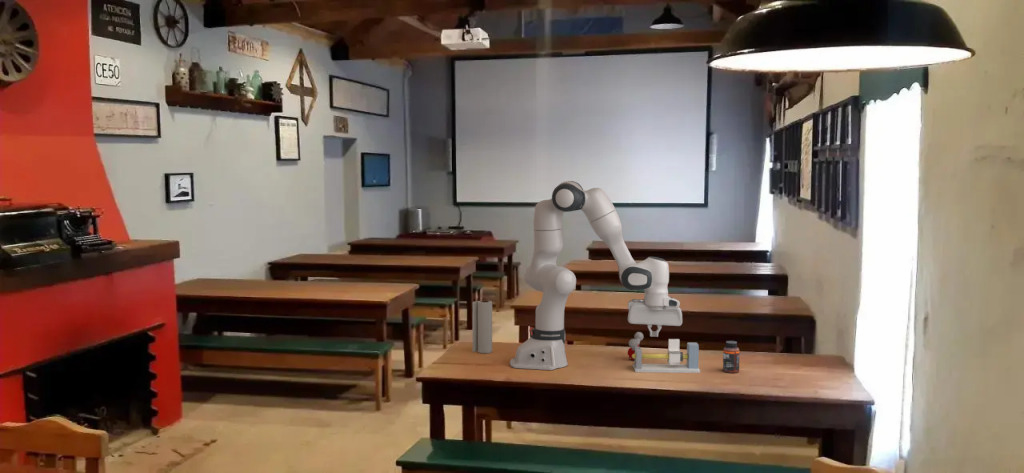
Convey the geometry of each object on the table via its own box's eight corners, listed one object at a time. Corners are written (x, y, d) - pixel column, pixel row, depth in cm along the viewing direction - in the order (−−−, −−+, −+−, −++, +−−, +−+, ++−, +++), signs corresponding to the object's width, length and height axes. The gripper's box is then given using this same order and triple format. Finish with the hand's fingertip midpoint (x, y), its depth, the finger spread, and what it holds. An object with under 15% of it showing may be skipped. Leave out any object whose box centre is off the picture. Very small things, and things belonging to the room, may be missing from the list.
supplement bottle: (738, 370, 299) (739, 340, 298) (739, 374, 293) (740, 344, 292) (722, 369, 300) (723, 339, 299) (723, 373, 294) (723, 343, 293)
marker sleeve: (669, 364, 297) (669, 340, 296) (667, 361, 302) (667, 338, 301) (680, 364, 297) (680, 340, 296) (677, 361, 302) (678, 338, 301)
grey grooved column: (495, 351, 329) (495, 300, 327) (487, 354, 324) (487, 302, 322) (480, 349, 332) (480, 299, 331) (472, 352, 327) (472, 301, 325)
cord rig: (633, 372, 295) (633, 345, 295) (630, 366, 304) (630, 340, 304) (700, 372, 295) (700, 346, 294) (695, 366, 304) (695, 341, 303)
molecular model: (638, 365, 306) (638, 340, 305) (623, 364, 307) (624, 339, 306) (644, 355, 322) (645, 331, 321) (631, 354, 324) (631, 330, 323)
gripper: (629, 299, 295) (627, 336, 296) (684, 302, 294) (682, 339, 295) (627, 297, 301) (625, 333, 302) (681, 300, 300) (679, 336, 301)
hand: (653, 336), depth 299 cm, fingers closed
